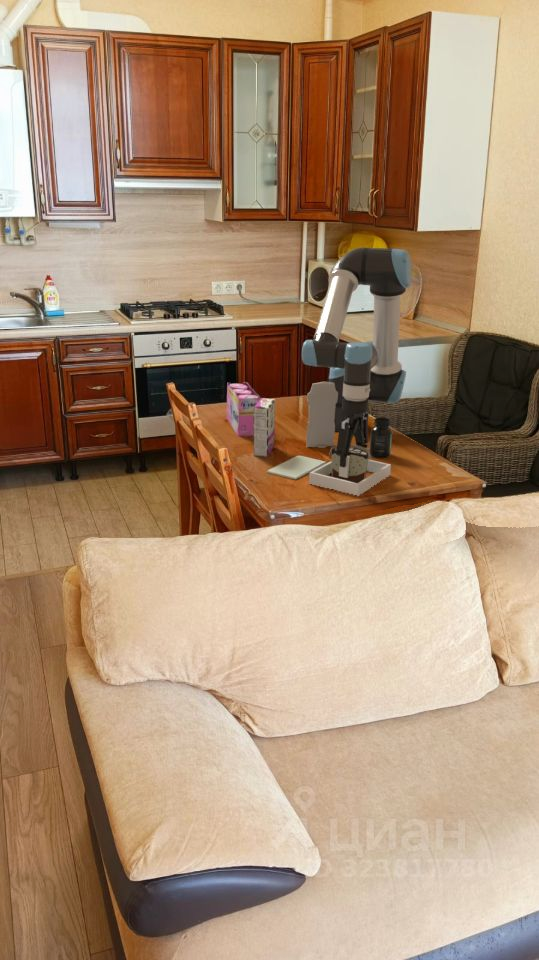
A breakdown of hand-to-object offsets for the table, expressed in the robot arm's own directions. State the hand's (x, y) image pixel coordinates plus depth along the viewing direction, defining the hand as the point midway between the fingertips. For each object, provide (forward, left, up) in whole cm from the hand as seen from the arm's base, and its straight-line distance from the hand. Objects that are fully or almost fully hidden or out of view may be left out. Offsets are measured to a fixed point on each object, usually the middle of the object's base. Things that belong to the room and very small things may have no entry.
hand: (350, 472), depth 230 cm
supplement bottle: (-26, -3, -3) cm, 26 cm away
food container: (0, 0, -3) cm, 3 cm away
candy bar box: (-6, -35, -3) cm, 36 cm away
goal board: (+1, -18, -2) cm, 18 cm away
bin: (0, 0, -2) cm, 2 cm away
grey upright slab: (-22, -23, -3) cm, 32 cm away
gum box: (-24, -56, -3) cm, 62 cm away
